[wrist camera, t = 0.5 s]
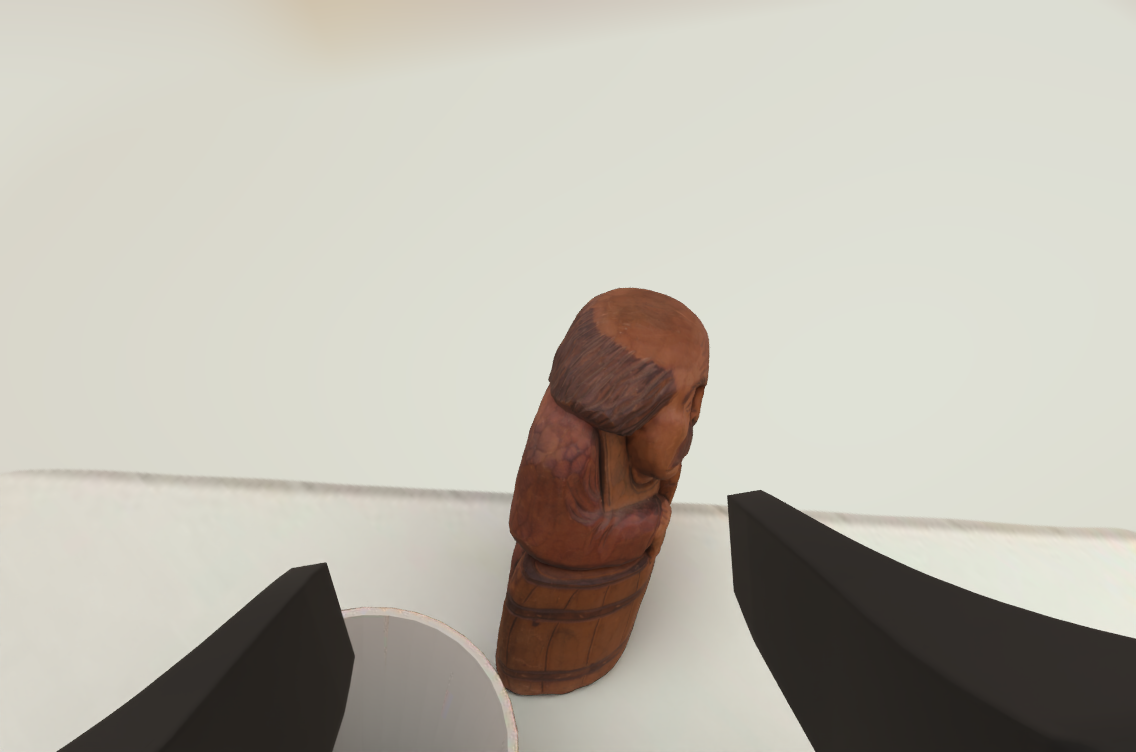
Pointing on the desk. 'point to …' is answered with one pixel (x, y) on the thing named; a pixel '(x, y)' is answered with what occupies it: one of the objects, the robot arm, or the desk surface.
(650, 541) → the wooden figurine
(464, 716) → the coffee mug
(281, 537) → the desk surface
